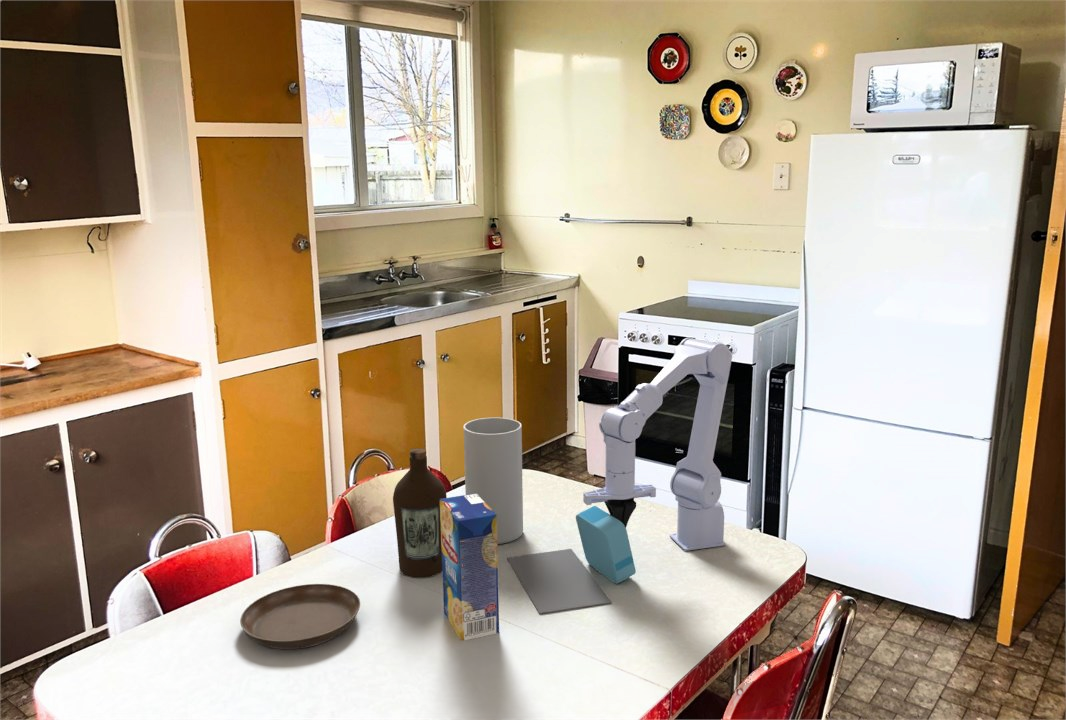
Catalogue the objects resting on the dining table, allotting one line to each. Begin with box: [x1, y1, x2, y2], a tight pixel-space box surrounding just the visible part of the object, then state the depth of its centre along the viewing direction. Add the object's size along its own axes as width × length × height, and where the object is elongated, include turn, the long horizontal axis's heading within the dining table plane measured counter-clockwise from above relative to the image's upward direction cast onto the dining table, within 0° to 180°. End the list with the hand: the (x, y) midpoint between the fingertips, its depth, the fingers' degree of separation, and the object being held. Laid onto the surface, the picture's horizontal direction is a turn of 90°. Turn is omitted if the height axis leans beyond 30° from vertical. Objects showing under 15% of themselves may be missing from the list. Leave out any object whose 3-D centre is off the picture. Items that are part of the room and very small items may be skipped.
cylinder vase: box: [463, 417, 524, 545], centre depth 188 cm, size 12×12×25 cm
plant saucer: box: [239, 583, 361, 650], centre depth 153 cm, size 21×21×3 cm
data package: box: [575, 505, 636, 585], centre depth 170 cm, size 12×4×12 cm, turn 28°
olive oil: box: [392, 448, 448, 579], centre depth 172 cm, size 11×11×25 cm
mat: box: [506, 548, 613, 615], centre depth 169 cm, size 14×24×1 cm, turn 16°
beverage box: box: [440, 493, 500, 642], centre depth 151 cm, size 7×11×22 cm, turn 22°
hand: (619, 533), depth 171 cm, fingers closed
